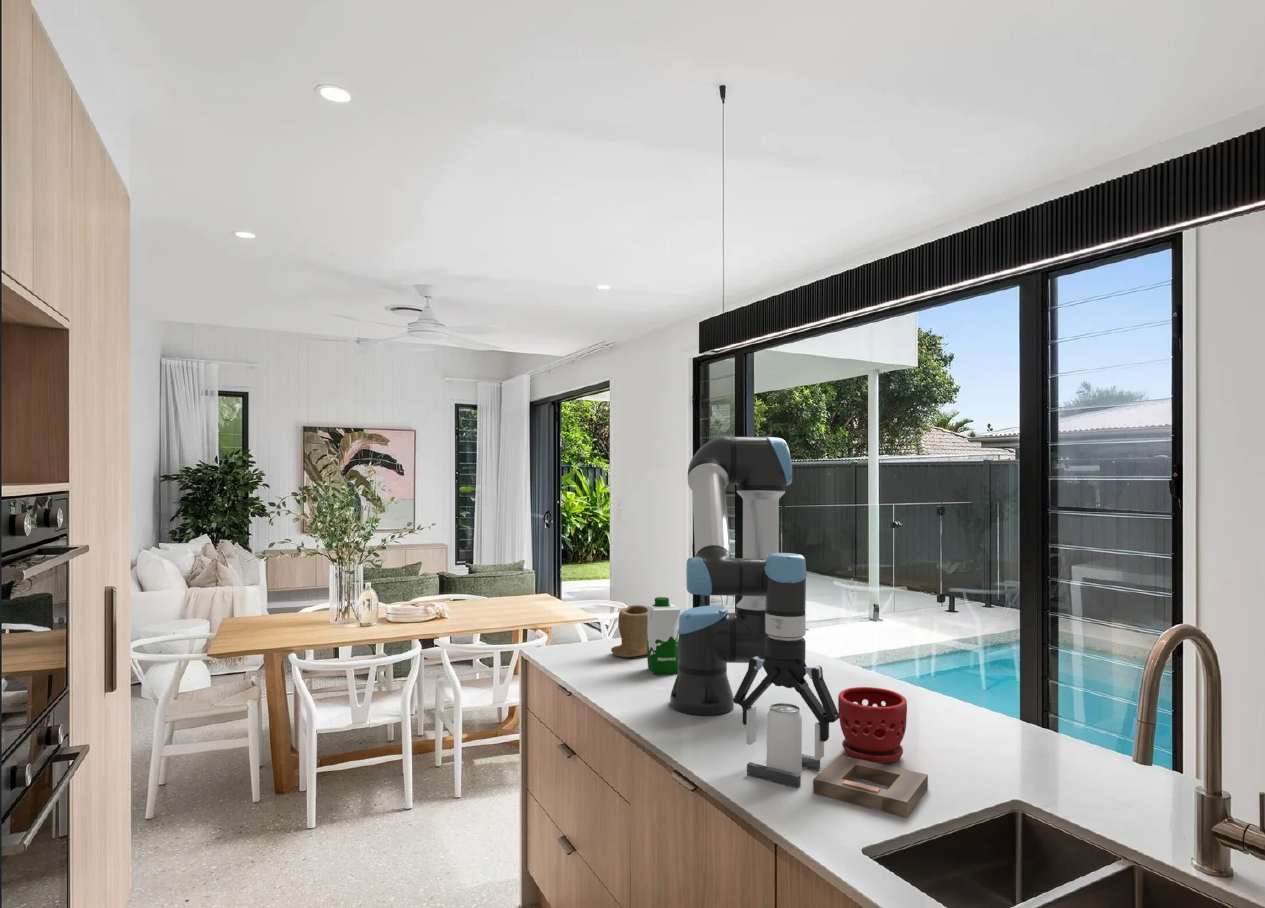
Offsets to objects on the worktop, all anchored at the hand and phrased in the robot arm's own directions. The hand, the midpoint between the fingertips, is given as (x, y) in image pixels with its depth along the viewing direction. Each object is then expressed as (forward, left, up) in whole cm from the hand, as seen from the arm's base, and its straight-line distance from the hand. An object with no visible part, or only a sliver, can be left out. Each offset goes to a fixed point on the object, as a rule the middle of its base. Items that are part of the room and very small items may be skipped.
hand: (784, 750), depth 143 cm
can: (0, 0, -4) cm, 4 cm away
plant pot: (+11, +18, -4) cm, 22 cm away
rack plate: (+16, +1, -4) cm, 16 cm away
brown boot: (-72, +58, -4) cm, 93 cm away
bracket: (0, 0, -4) cm, 4 cm away
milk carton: (-56, +47, -4) cm, 73 cm away
